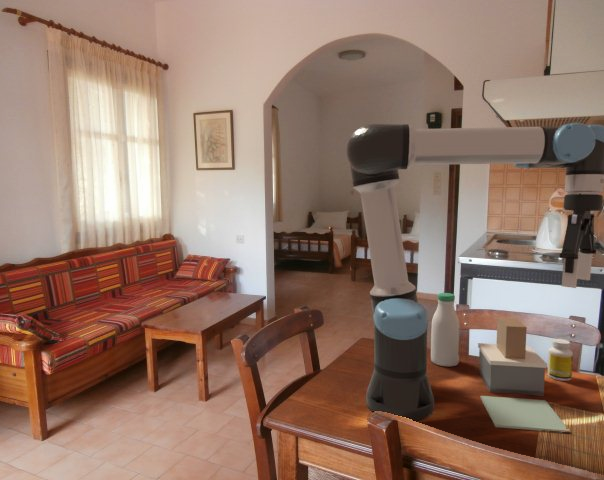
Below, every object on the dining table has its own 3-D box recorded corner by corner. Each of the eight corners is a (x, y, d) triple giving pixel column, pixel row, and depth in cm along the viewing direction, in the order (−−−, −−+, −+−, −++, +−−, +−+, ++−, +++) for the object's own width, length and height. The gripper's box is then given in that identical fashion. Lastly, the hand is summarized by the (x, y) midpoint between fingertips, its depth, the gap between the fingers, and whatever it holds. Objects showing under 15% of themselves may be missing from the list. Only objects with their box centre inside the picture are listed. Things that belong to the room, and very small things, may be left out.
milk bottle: (457, 369, 116) (459, 298, 114) (428, 364, 119) (430, 295, 117) (460, 359, 123) (461, 292, 121) (432, 355, 126) (434, 290, 124)
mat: (495, 426, 86) (495, 424, 86) (480, 397, 99) (480, 395, 99) (569, 433, 84) (570, 430, 84) (544, 402, 96) (544, 400, 96)
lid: (490, 367, 101) (491, 328, 100) (477, 349, 113) (479, 314, 112) (546, 371, 99) (548, 330, 98) (528, 352, 111) (529, 316, 110)
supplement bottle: (575, 382, 107) (577, 345, 106) (551, 380, 108) (553, 343, 107) (566, 373, 112) (568, 338, 111) (544, 372, 113) (545, 337, 112)
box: (490, 392, 102) (491, 364, 101) (478, 372, 114) (479, 347, 113) (543, 395, 100) (545, 367, 99) (526, 375, 111) (527, 349, 111)
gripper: (590, 192, 86) (582, 293, 89) (613, 194, 104) (606, 278, 106) (549, 192, 92) (542, 287, 94) (578, 194, 109) (571, 274, 111)
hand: (576, 283), depth 100 cm, fingers open, 13 cm apart
